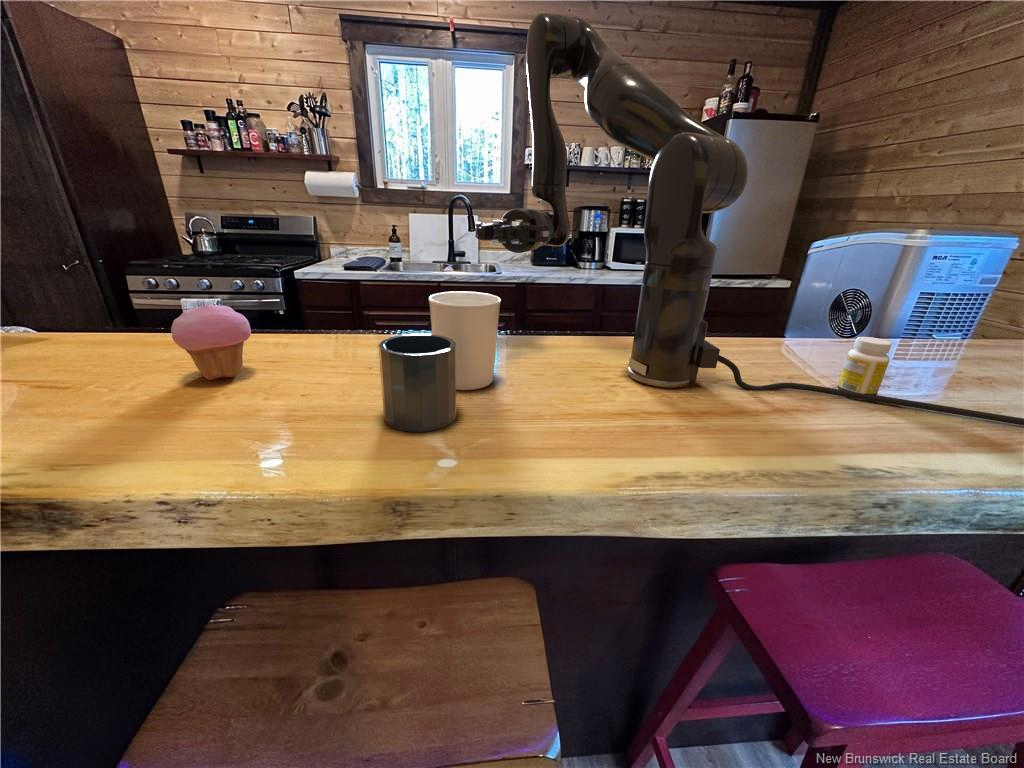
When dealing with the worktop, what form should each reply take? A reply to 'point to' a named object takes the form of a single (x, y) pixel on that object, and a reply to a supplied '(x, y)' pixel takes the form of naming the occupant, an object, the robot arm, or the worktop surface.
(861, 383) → the supplement bottle
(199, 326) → the cupcake
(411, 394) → the cup
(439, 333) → the cream tumbler
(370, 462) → the worktop surface
